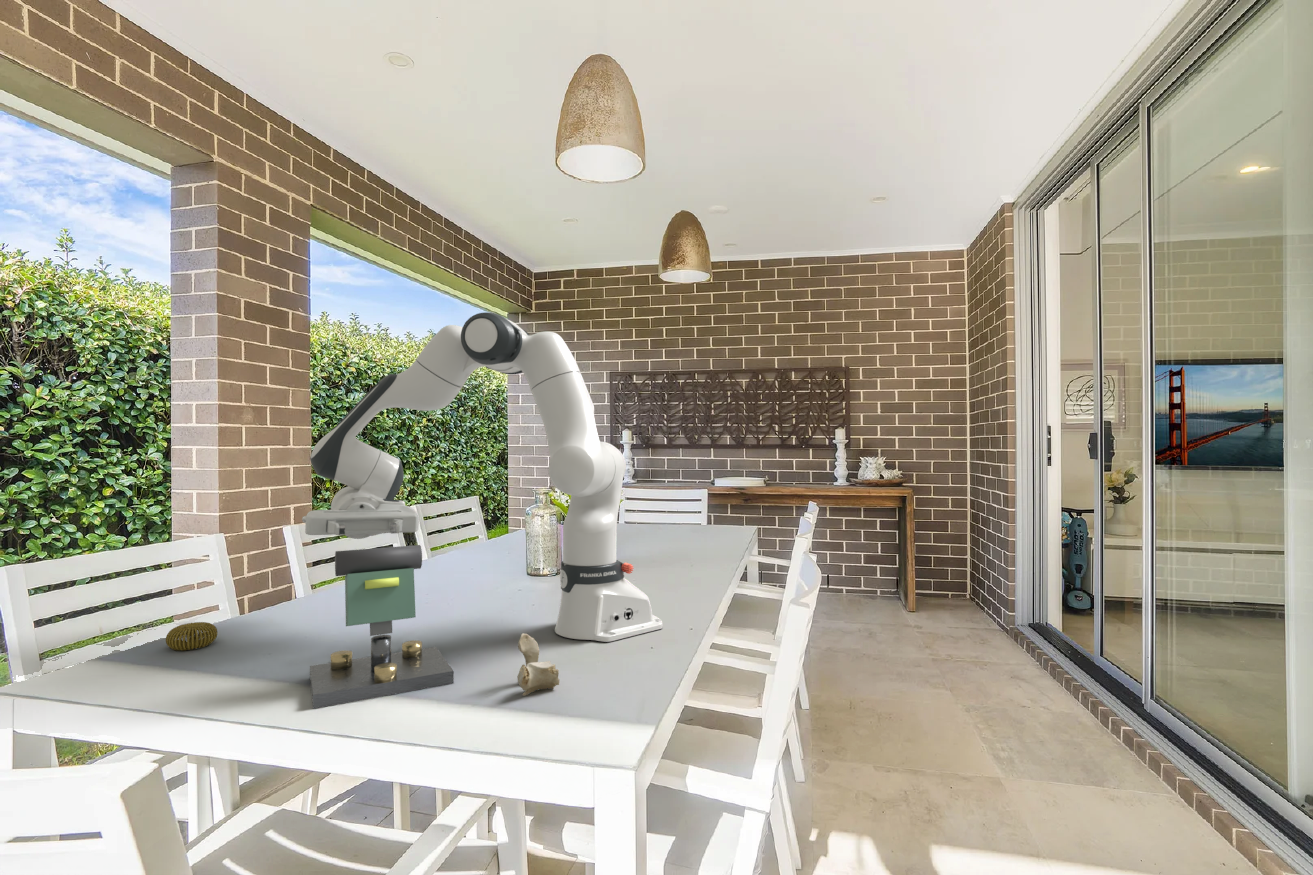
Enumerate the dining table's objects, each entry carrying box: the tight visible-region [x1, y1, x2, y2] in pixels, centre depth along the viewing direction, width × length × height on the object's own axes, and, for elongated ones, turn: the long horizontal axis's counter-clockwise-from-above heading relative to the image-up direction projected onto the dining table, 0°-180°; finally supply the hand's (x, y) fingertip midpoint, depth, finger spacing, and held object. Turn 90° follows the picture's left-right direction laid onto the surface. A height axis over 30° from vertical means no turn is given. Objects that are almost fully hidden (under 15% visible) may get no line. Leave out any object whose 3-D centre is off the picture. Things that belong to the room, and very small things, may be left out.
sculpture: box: [165, 621, 218, 651], centre depth 122 cm, size 8×4×8 cm
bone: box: [517, 633, 560, 696], centre depth 101 cm, size 9×6×10 cm
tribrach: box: [309, 634, 455, 709], centre depth 105 cm, size 20×14×7 cm
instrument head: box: [334, 544, 423, 637], centre depth 106 cm, size 13×6×14 cm, turn 120°
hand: (368, 530), depth 120 cm, fingers open, 8 cm apart
